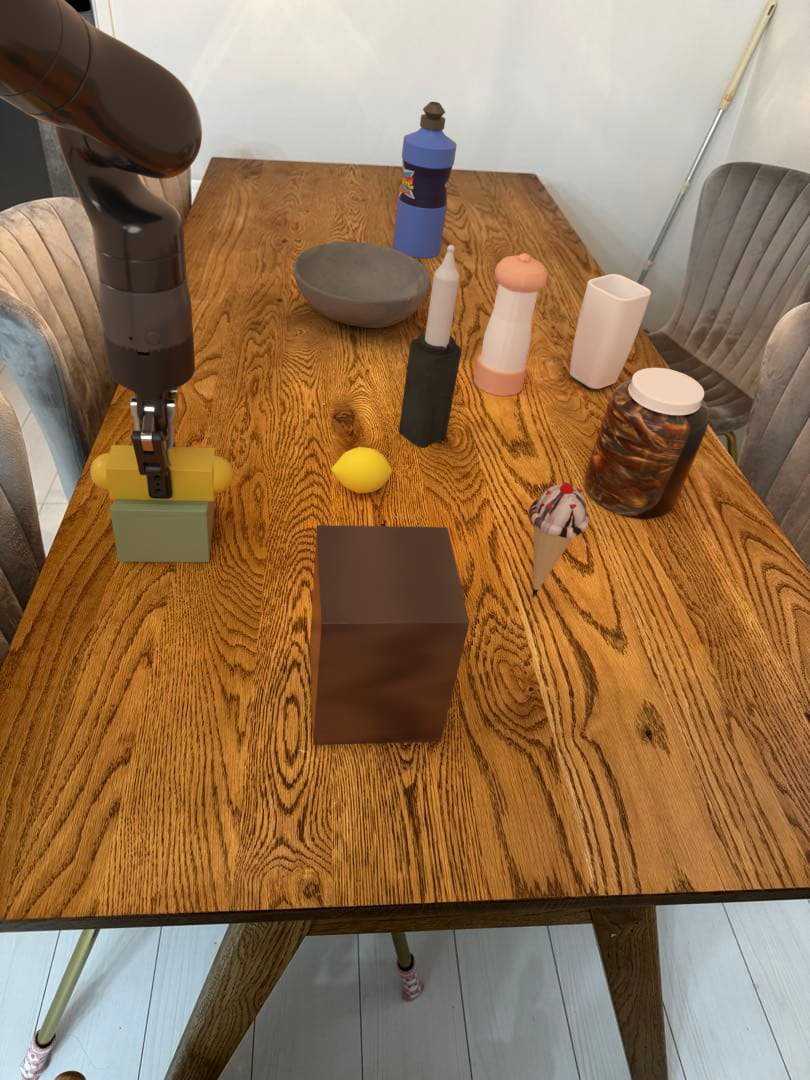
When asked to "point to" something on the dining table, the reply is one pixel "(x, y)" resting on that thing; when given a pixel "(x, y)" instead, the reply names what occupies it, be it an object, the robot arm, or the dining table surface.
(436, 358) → the candle
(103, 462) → the yellow ball-topped peg
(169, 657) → the dining table surface
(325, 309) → the bowl
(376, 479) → the lemon
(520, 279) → the salt shaker
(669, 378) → the jar
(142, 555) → the block
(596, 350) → the cup
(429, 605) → the block
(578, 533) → the ice cream cone
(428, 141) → the water bottle
